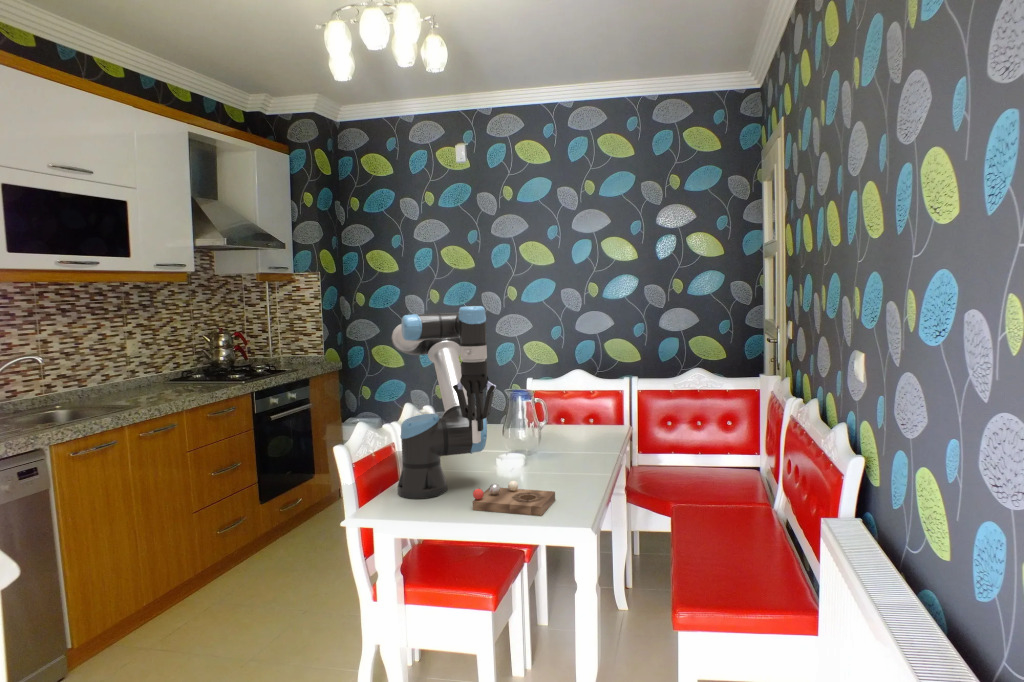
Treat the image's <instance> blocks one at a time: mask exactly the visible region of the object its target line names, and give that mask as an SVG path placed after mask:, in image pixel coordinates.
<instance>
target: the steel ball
mask: <svg viewBox="0 0 1024 682" xmlns="http://www.w3.org/2000/svg"><path fill="white" fill-rule="evenodd" d="M488 488H489V492H490V493H491V494H492V495H497V494H498V493H499V492H500V488H501V487H500V486H499V484H497V483H491V485H489V487H488Z"/></svg>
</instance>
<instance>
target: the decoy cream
mask: <svg viewBox="0 0 1024 682" xmlns="http://www.w3.org/2000/svg"><path fill="white" fill-rule="evenodd" d="M507 488H509V490H511V491H516V490H517V489H519V483H518V482H517V481H516V480H511V481H509V482H508V484H507Z"/></svg>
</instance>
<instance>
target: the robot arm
mask: <svg viewBox="0 0 1024 682" xmlns="http://www.w3.org/2000/svg"><path fill="white" fill-rule="evenodd" d="M391 342H392V345H393V347H395V349H396V350H398V351H399V352H402V353H404V354H407V355H412V356H422V355H424V356H425V355H427V358H428V359H429V360H430V362H432V363H433V364H434V368H435V373H436V377H437V382H438V387H439V390H440V395H441V400H442V404H443V409H444V412H443V414H442V415H441V417H440V416H439V414H437V413H423V414H419V415H413V416H411V417H408V418H407V419H404V420H403V422H402V423H401V424H400V439H401V440H400V441H401V461H402V462H401V463H402V469H401V473H400V476H399V479H398V484H397V494H398V495H399V496H400V497H402V498H406V499H414V500H415V499H416V500H417V499H430V498H435V497H438V496H442V495H443V494H445V493H447V491H448V482H447V479H446V477H445V474H444V471H443V468H442V466H441V465H442V464H441V457H446V456H455V455H456V456H457V455H466V454H474V453H479V452H482V451H484V450H485V448H486V445H487V438H488V422H487V418H488V417H490V414H491V411H492V410H491V409H492V404H493V398H494V393H495V391H496V390H497V389H498V385H497V384H493V383H492V382H490V378H489V376H488V372H489V371H488V362H487V358H488V354H487V353H488V352H487V351H488V349H487V315H486V308H485V307H484V306H482V305H478V306H477V305H472V306H471V305H470V306H469V305H468V306H466V305H465V306H460V307H459V309H458V312H445V313H442V312H441V313H421V314H420V313H418V314H416V313H411V314H405V315H403V316H402V318H401V323H400V324H398V325H397V326H396V327H395V328H394V329H393V330H392V333H391ZM459 357H460V359H459ZM460 360H461V362H460ZM485 389H486V390H487V392H486V396H485V401H484V391H485Z"/></svg>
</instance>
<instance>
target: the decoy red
mask: <svg viewBox="0 0 1024 682" xmlns="http://www.w3.org/2000/svg"><path fill="white" fill-rule="evenodd" d="M483 492H484V491H483V489H481V488H476V489H475V490H474V491H473V492H472V497H473V498H474V500H475V499H477V500H480V499H482V498H483V496H484V493H483Z"/></svg>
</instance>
